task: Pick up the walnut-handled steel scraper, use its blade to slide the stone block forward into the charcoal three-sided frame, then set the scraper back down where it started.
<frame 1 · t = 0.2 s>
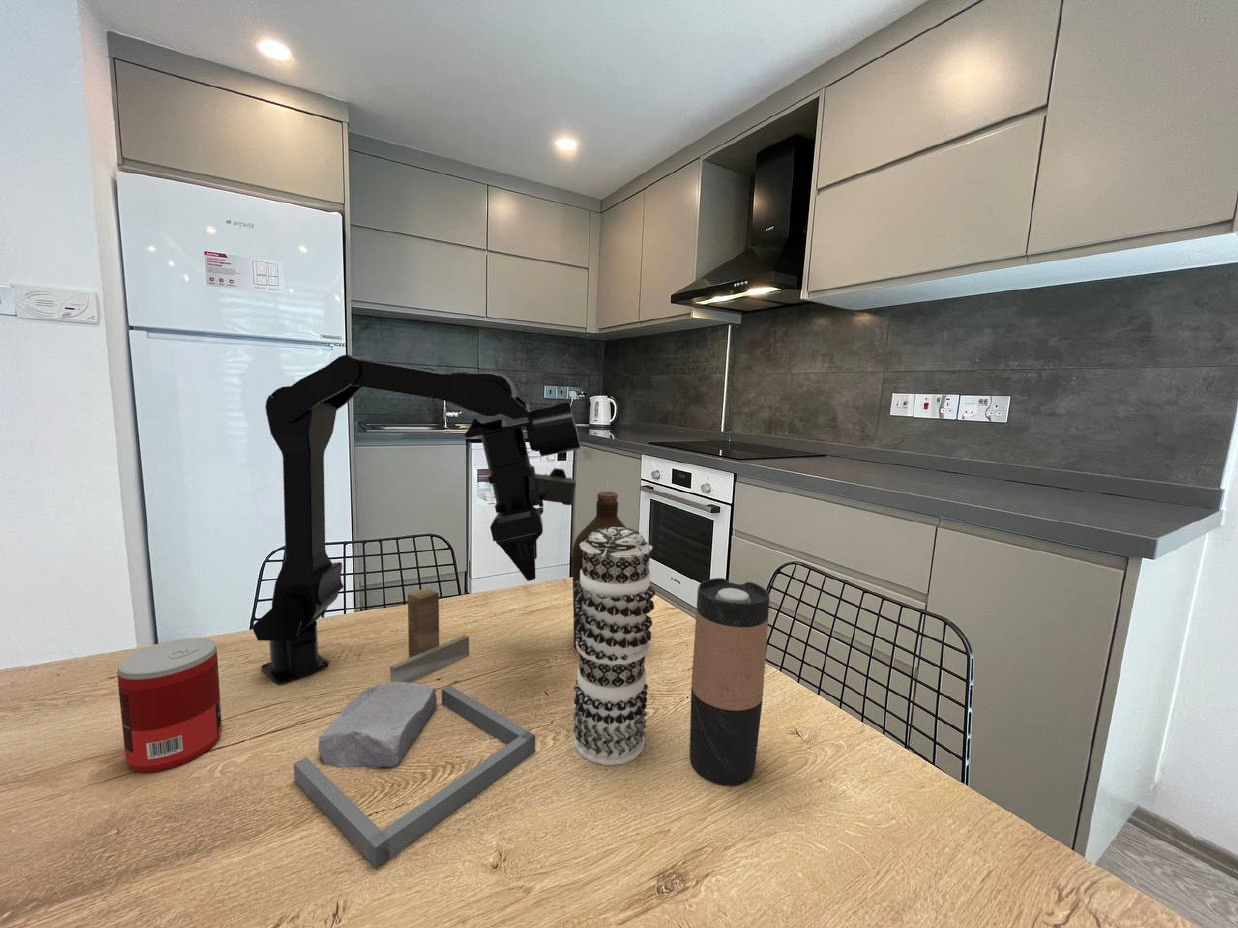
hand: (532, 568, 73), 15 cm above the table, tool pointing down, fingers open, 9 cm apart
decorative candle: (608, 741, 60), on the table
canned food: (176, 750, 56), on the table
olive oil: (602, 645, 83), on the table
travel mug: (721, 763, 57), on the table
frame: (416, 761, 55), on the table
scraper: (424, 665, 75), on the table
stone block: (379, 735, 60), on the table
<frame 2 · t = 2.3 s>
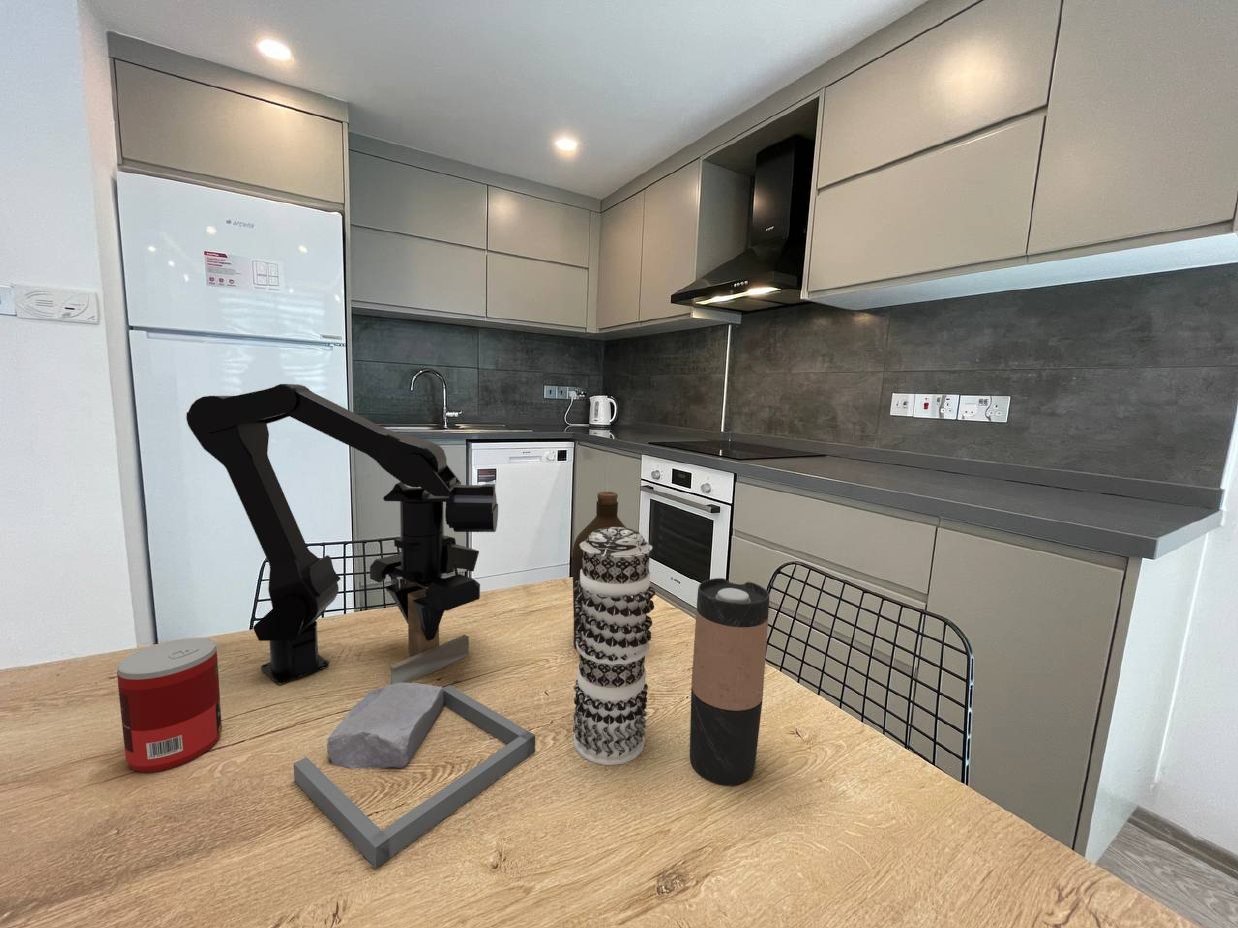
hand: (423, 635, 74), 5 cm above the table, tool pointing down, fingers closed on scraper, 3 cm apart
scraper: (424, 665, 75), on the table, touching gripper
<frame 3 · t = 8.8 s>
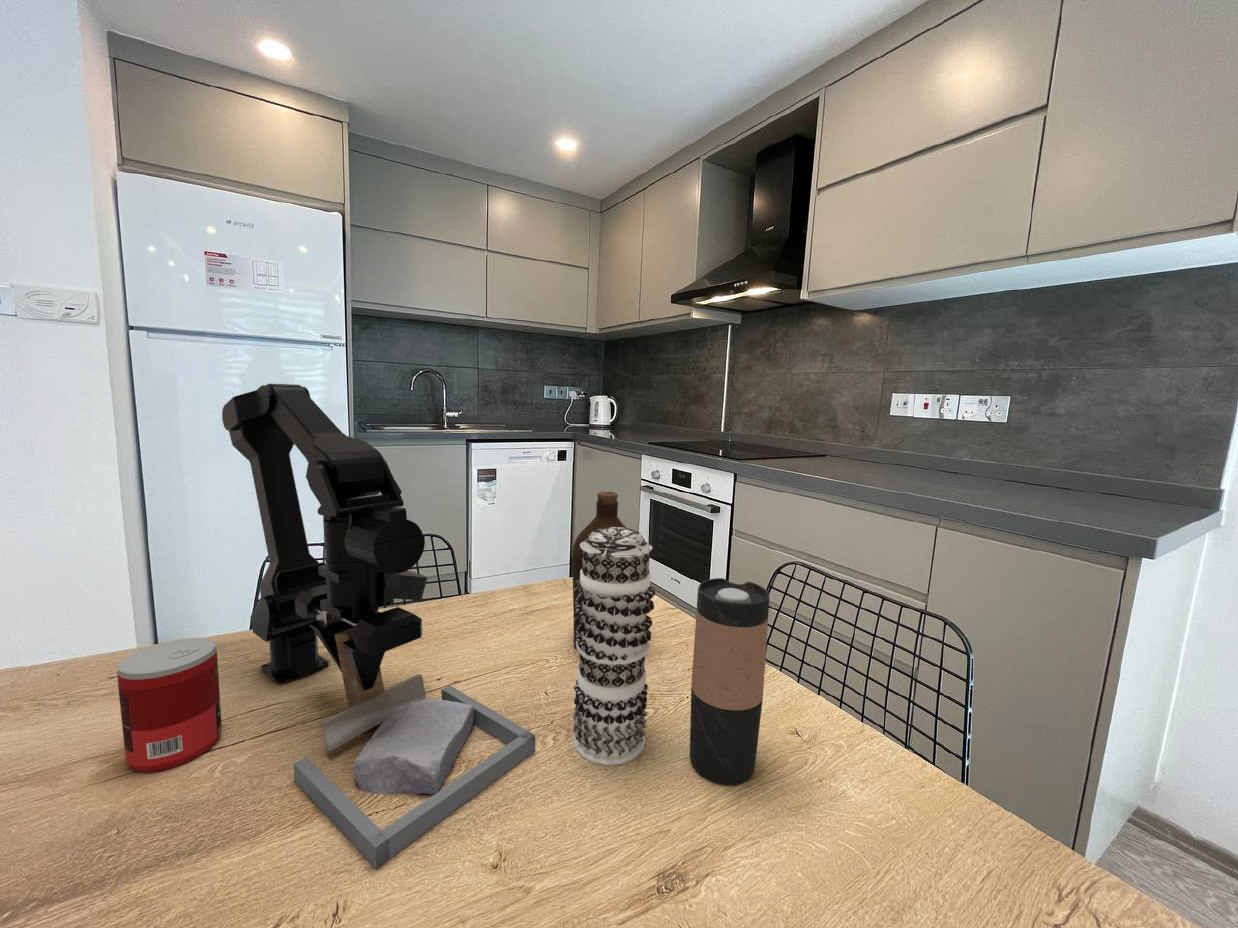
hand: (358, 682, 61), 5 cm above the table, tool pointing down, fingers closed on scraper, 4 cm apart
scraper: (370, 720, 61), on the table, tilted 17°, touching gripper
stone block: (415, 758, 56), on the table
everything else where it was.
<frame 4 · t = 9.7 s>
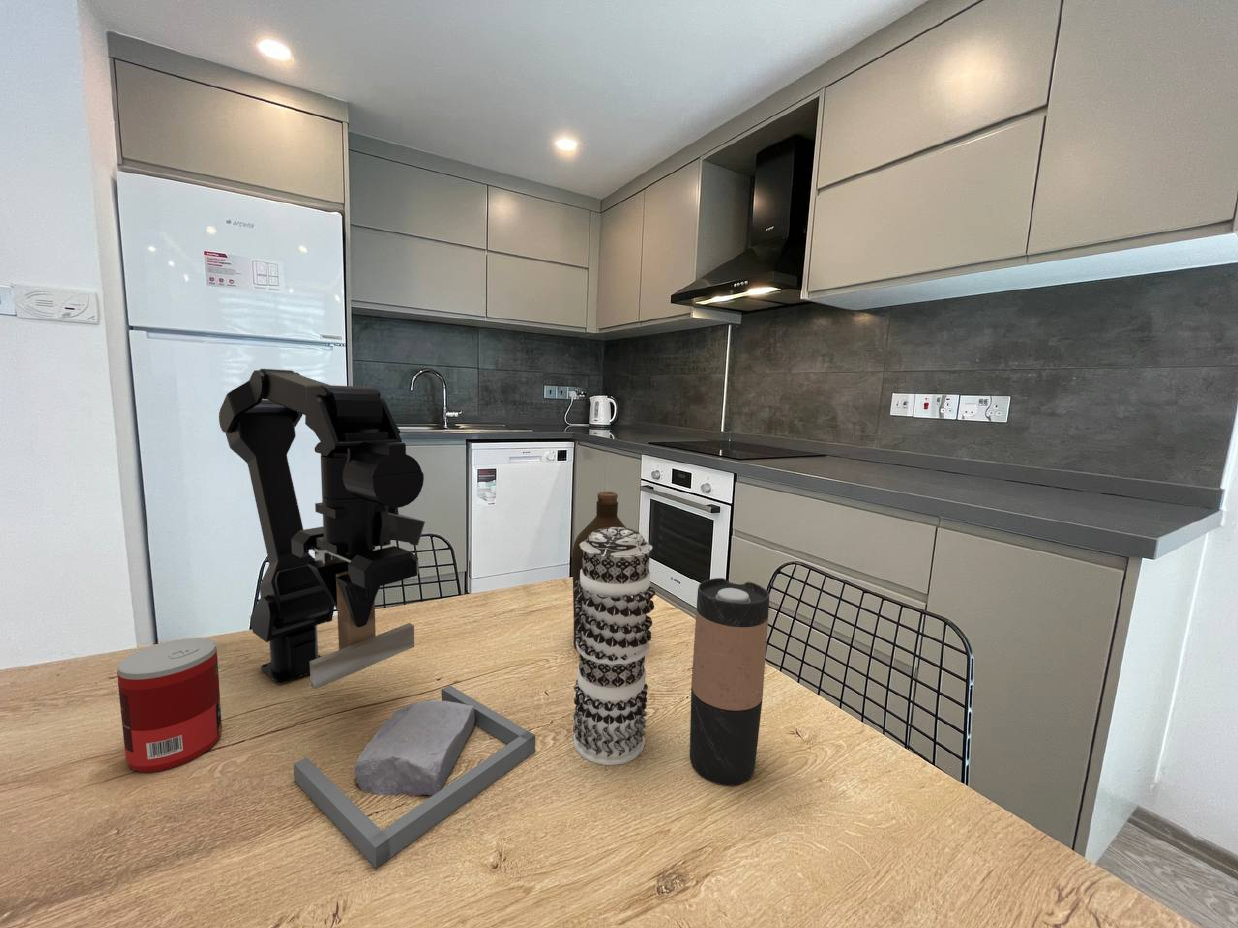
hand: (354, 621, 61), 12 cm above the table, tool pointing down, fingers closed on scraper, 3 cm apart
scraper: (357, 658, 62), point 7 cm above the table, touching gripper
everything else where it was.
when the fingers open (5 cm above the table, at t = 12.3 s): scraper stays where it is, on the table.
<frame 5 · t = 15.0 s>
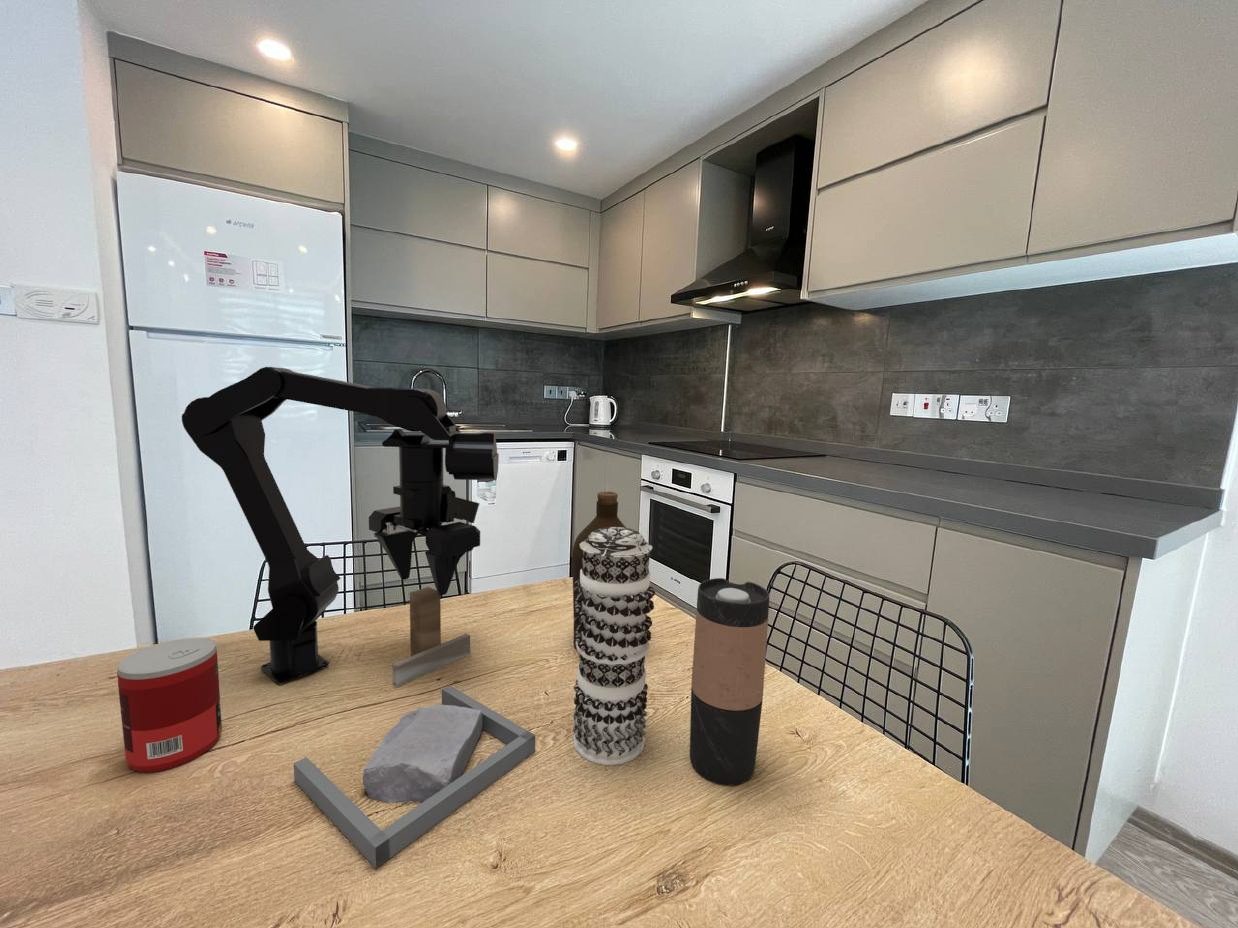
hand: (423, 586, 73), 12 cm above the table, tool pointing down, fingers open, 9 cm apart
scraper: (425, 663, 75), on the table
stone block: (424, 764, 55), on the table
everything else where it was.
at the end: stone block inside the target area (0.9 cm from its centre), on the table; scraper inside the target area (0.8 cm from its centre), on the table; the gripper is holding nothing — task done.
